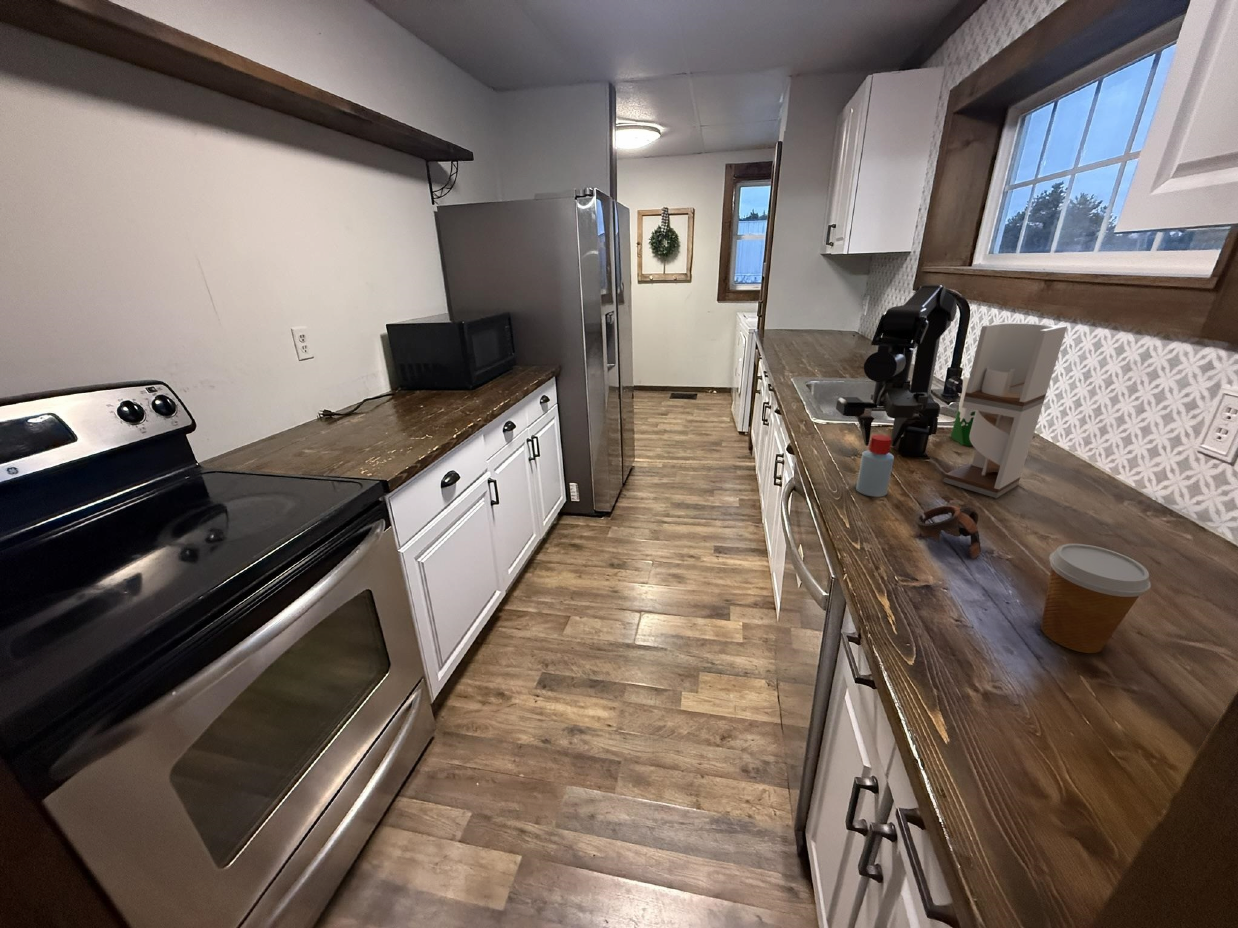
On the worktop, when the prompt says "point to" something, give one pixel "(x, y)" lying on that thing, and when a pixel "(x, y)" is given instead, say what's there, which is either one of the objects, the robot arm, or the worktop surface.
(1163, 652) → the worktop surface
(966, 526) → the pottery mug
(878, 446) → the cap
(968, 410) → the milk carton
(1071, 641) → the disposable coffee cup
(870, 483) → the bottle
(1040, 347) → the white tower frame
